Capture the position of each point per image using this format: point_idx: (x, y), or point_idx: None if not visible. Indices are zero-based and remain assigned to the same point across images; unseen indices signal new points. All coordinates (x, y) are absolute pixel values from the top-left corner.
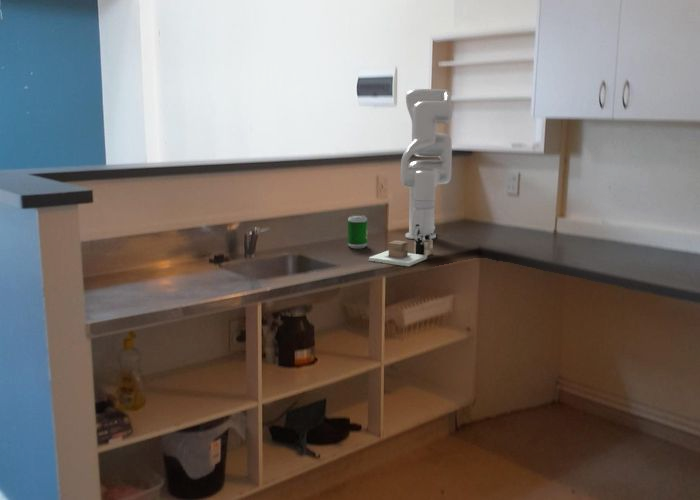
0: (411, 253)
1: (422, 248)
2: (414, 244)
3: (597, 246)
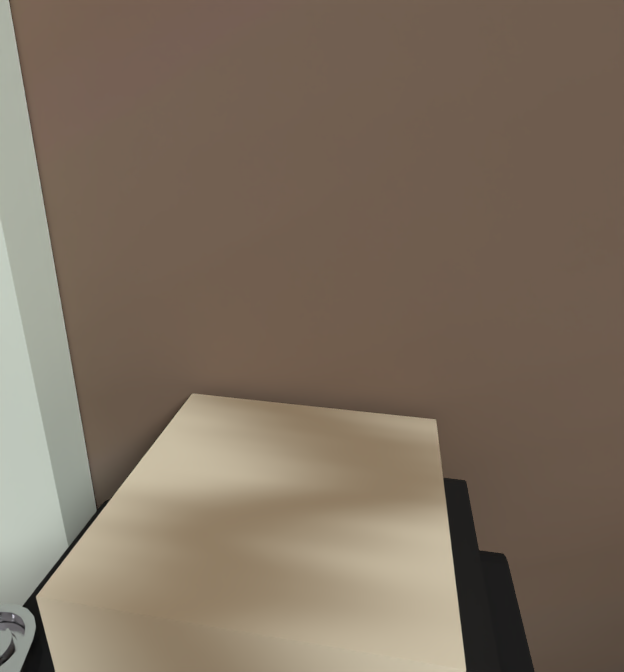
0: (37, 422)
1: None
2: (96, 526)
3: None
